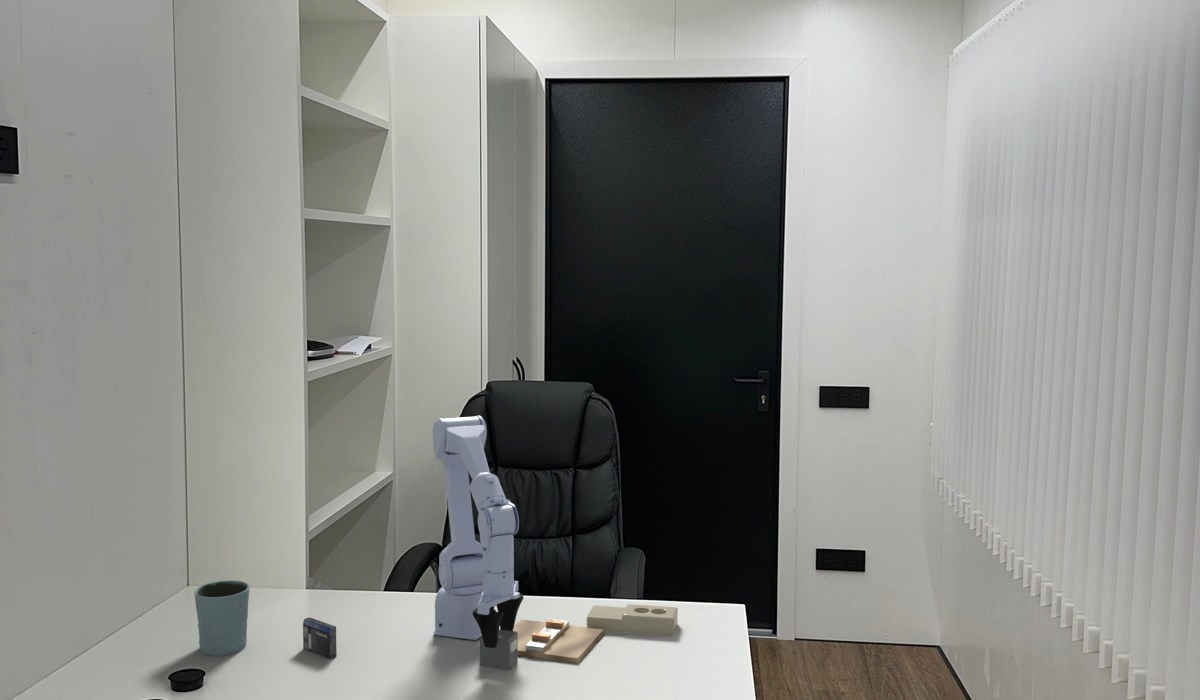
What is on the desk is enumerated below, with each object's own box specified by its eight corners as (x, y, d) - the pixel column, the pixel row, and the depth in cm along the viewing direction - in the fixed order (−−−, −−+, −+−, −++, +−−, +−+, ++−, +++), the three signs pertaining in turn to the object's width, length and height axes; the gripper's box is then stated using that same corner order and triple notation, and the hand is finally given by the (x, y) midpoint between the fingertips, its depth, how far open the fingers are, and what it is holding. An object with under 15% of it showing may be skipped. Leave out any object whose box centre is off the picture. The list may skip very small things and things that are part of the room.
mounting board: (490, 651, 199) (490, 646, 198) (521, 623, 214) (521, 619, 214) (577, 663, 193) (577, 658, 193) (603, 634, 208) (603, 629, 208)
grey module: (479, 666, 192) (479, 635, 191) (488, 658, 195) (488, 627, 195) (510, 670, 190) (509, 639, 189) (518, 662, 194) (518, 631, 193)
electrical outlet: (593, 601, 217) (677, 606, 214) (593, 619, 218) (677, 625, 214) (586, 612, 210) (674, 618, 207) (586, 631, 211) (673, 638, 207)
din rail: (525, 650, 197) (525, 640, 197) (553, 624, 211) (553, 614, 211) (542, 652, 196) (542, 642, 195) (569, 626, 210) (569, 616, 210)
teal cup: (230, 634, 207) (229, 576, 206) (262, 645, 201) (260, 586, 200) (185, 650, 199) (183, 590, 197) (216, 662, 193) (214, 600, 192)
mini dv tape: (303, 649, 200) (302, 619, 199) (309, 646, 201) (309, 617, 200) (330, 659, 195) (329, 628, 194) (336, 656, 196) (336, 626, 195)
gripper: (502, 582, 183) (503, 656, 184) (532, 560, 197) (533, 629, 198) (466, 578, 185) (467, 651, 186) (499, 557, 199) (499, 625, 200)
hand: (498, 639), depth 192 cm, fingers open, 7 cm apart
